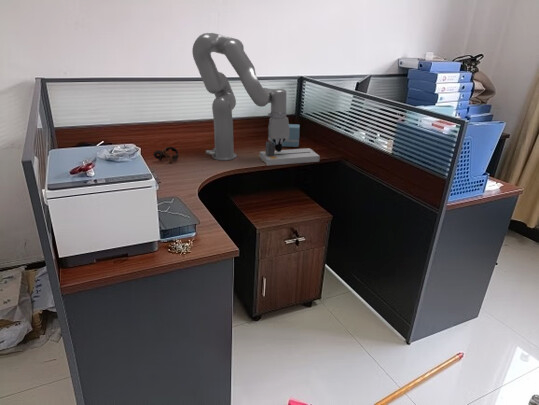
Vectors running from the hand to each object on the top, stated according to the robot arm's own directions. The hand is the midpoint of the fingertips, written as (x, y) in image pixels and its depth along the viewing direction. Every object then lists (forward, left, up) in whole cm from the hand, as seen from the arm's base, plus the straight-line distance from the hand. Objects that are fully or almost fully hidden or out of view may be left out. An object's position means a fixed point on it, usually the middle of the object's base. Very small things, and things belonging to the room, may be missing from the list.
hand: (278, 151), depth 199 cm
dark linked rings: (-55, +11, -5) cm, 57 cm away
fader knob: (-4, 0, -1) cm, 5 cm away
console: (+6, 0, -5) cm, 8 cm away
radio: (+12, +25, -5) cm, 28 cm away
